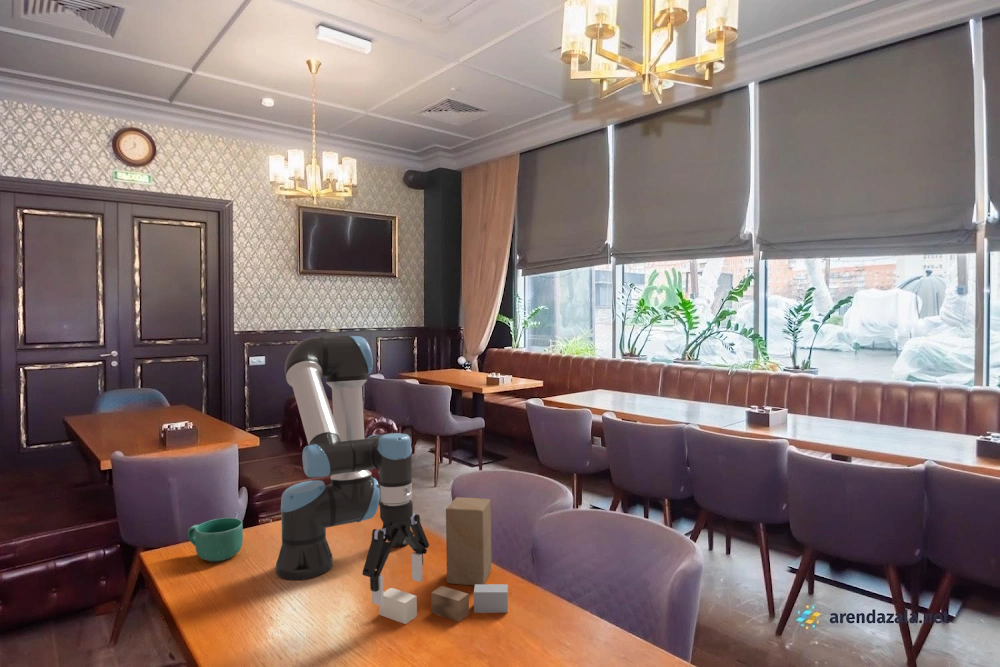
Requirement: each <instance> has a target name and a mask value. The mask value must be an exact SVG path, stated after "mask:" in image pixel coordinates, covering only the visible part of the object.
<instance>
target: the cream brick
mask: <svg viewBox="0 0 1000 667" xmlns="http://www.w3.org/2000/svg"><path fill="white" fill-rule="evenodd" d="M383 603H384V605H382V606H380V605H379V615H380V616H382V617H385V618H388V619H390V620H393V621H396V622H398V623H401V624H404V625H406V624H408V623H410V622H411V621H412V620H414V619H415V618H417V617H418V611H417V610H418V609H417V607H418V606H417V603H418V602H417V595H415V594H412V593H408V592H406V591H402V590H399V589H396V588H394V587H389V588H388V589H386V590H385V591H384V590H383Z"/></svg>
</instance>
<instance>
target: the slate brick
mask: <svg viewBox="0 0 1000 667" xmlns="http://www.w3.org/2000/svg"><path fill="white" fill-rule="evenodd" d="M473 613H476V614H478V613H479V614H480V613H482V614H485V613H489V614H491V613H493V614H494V613H495V614H498V613H504V614H505V613H506V614H507V613H509V585H508V583H507V584H506V583H505V584H500V583H499V584H488V583H487V584H475V586H474V588H473Z"/></svg>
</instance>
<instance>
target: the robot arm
mask: <svg viewBox="0 0 1000 667" xmlns="http://www.w3.org/2000/svg"><path fill="white" fill-rule="evenodd" d="M373 359H374V358H373V354H372V349H371V347H370V345H369V343H368V341H367V339H366V338H364V336H359V335H358V336H357V335H343V336H341V335H339V336H312V337H309V338H305V339H303V340H302V341H300V342H298V343H297V344H296V345H294V347H293V348H292V349H291V351H290V352H289V353H288V355H287V357H286V360H285V364H284V374H285V379H286V383H287V384H288V385H289V386H290V387H292V391H293V393H294V397H295V401H296V404H297V408H298V411H299V415H300V418H301V422H302V427H303V431H304V433H305V437H306V442H307V445H306V446H305V447H303V449H302V456H301V457H302V459H301V460H302V467H303V469H302V470H303V472H304V474H305V475H306V476H307V477H308V478H319V477H320V478H323V477H328V476H329V477H330V484H325V481H324V480H320V479H319V480H317V479H314V480H306V481H301V482H299V483H298V482H297V483H296V484H292V485H291V486H289V487H288V488H286V489H285V490H284V491H283V492H282V494H281V497H280V498H281V499H280V500H281V501H280V502H281V503H280V511H281V512H280V514H281V545H280V546H281V547H280V549H279V553H278V557H277V560H276V563H275V573H276V576H277V577H279V578H281V579H283V580H291V581H293V580H294V581H297V580H298V581H299V580H307V579H311V578H315V577H318V576H321V575H323V574H325V573H326V572H329V571H330V570H331V569H332V568H333V565H334V560H333V557H334V556H333V554H332V551H331V547H330V546H329V542H328V540H327V535H326V534H327V533H326V532H327V531H326V529H327V528H333V527H336V526H342V525H347V524H352V523H353V524H354V523H361V522H362V521H367V520H370V519H372V518H374V516H376V513H377V512H378V509H379V517H380V520H381V521H382V527H381V528H380V529H377V528H374V529H373V530H372V532H371V541H370V544H369V548H368V550H367V551H368V552H367V555H366V557H365V558H366V559H365V562H364V565H363V570H362V575H363V576H365V577H369V582H370V583H369V584H370V585H369V589H370V591H371V600H372V602H371V604H375V605H377V606H379V607H380V606H382V605H384V603H383V592H384V575H382V574H381V573H382V571H383V569H384V566H385V564H386V561H387V560H388V557H389V555H390V553H391V551H392V549H393V548H395V547H396V546H395V544H396V543H398V542H399V541H402V540H405V541H406V542H407V544H408V545H409V547H410V548H411V549H412V550H413V552H412V553H411V581H415V582H418V583H419V582H420V583H422V582H423V581H424V580H423V566H424V555H425V554H427V552H428V548H429V547H430V543H429V541H428V538H427V536H426V533H425V530H424V529H423V526H422V523H421V518H420V515H419V514H416V513H414V510H413V509H414V507H413V505H414V504H413V500H412V499H413V487H412V486H413V482H412V481H413V473H412V472H413V470H412V469H413V468H412V467H413V466H412V462H413V461H412V457H413V456H412V453H413V449H412V448H413V447H412V443H411V442H412V441H411V437H410V436H409V434H407V433H401V432H394V433H385V434H372V435H369V436H367V437H366V438H365V421H364V404H363V401H364V400H363V386H364V384H366V383H367V381H368V378H367V376H369V375H370V374H371V373H372V372H373V366H374V360H373ZM322 378H325V384H326V385H328V386H329V387H330V388H331V393H332V395H331V397H332V399H331V400H332V409H331V406H330V402H329V399H328V396H327V393H326V391H325V387H324V385H323V381H322ZM374 469H375V470H376V469H377V470H378V479H379V481H378V480H377V479H376V477H373V475H372V472H371V471H370V470H374ZM410 526H411V530H410Z"/></svg>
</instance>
